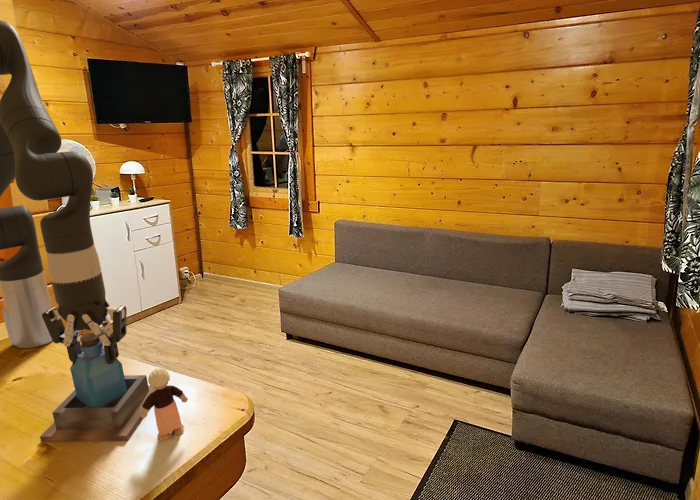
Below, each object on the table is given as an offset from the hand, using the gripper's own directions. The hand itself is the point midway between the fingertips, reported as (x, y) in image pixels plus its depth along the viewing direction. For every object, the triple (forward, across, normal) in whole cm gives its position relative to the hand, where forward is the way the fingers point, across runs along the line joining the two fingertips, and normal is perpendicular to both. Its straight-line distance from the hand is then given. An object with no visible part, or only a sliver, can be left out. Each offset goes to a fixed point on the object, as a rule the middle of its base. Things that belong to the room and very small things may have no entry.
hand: (95, 361), depth 86 cm
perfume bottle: (+7, 0, 0) cm, 7 cm away
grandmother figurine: (+11, -14, +6) cm, 19 cm away
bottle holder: (+11, 0, 0) cm, 11 cm away
